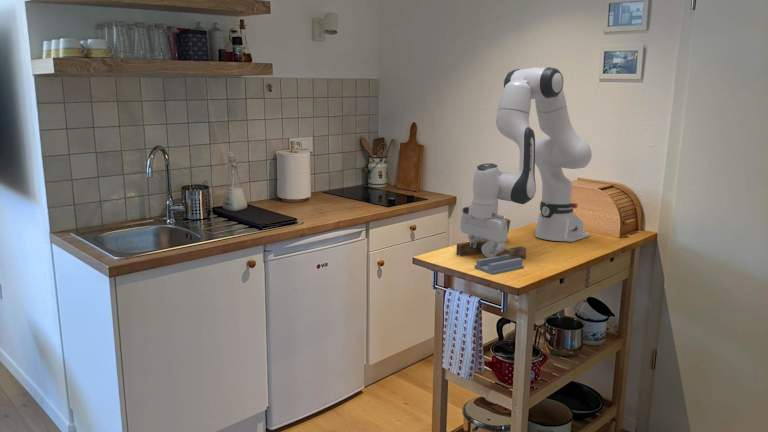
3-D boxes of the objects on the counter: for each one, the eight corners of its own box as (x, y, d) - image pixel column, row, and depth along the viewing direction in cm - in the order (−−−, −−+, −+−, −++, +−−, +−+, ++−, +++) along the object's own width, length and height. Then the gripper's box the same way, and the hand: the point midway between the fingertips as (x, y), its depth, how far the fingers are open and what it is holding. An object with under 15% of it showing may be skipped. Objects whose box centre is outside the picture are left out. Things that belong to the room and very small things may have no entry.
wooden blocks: (491, 248, 228) (491, 238, 227) (525, 259, 214) (526, 247, 213) (456, 254, 218) (456, 243, 217) (490, 266, 204) (490, 254, 204)
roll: (509, 251, 224) (510, 236, 223) (496, 258, 214) (497, 243, 213) (493, 249, 227) (494, 234, 226) (480, 256, 217) (481, 240, 216)
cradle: (505, 262, 210) (505, 253, 209) (523, 268, 203) (524, 259, 202) (474, 268, 202) (475, 259, 201) (492, 274, 195) (493, 265, 194)
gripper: (513, 215, 204) (510, 255, 207) (471, 205, 221) (469, 243, 223) (499, 217, 201) (497, 258, 203) (458, 207, 217) (456, 245, 220)
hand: (482, 250), depth 214 cm, fingers open, 8 cm apart
